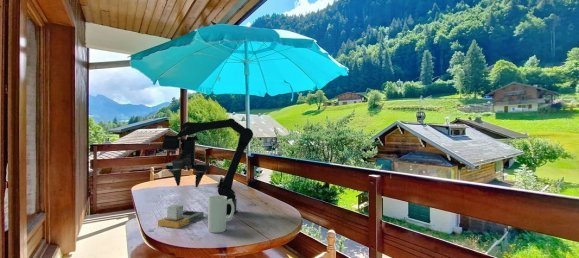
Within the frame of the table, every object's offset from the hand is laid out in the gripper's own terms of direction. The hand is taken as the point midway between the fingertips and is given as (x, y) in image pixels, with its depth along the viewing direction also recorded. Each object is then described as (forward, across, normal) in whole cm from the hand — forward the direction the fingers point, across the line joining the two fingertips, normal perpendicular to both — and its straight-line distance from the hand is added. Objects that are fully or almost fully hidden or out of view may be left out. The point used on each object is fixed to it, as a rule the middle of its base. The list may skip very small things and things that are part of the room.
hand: (187, 186), depth 136 cm
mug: (+12, +25, -15) cm, 31 cm away
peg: (+12, +5, -15) cm, 20 cm away
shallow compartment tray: (+12, +5, -10) cm, 16 cm away
